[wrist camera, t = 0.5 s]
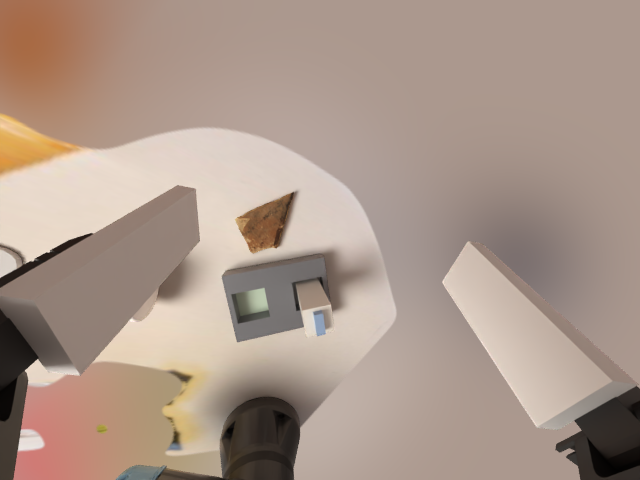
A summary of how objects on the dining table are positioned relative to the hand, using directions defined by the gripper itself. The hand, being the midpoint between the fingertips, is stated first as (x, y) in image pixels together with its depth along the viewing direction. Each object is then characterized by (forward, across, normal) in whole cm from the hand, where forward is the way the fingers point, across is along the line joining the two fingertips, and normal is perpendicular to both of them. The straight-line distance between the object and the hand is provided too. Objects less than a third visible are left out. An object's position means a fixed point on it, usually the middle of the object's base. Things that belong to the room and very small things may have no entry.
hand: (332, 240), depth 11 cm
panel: (+21, +3, +26) cm, 33 cm away
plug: (+22, -2, +24) cm, 33 cm away
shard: (+26, +9, +14) cm, 31 cm away
